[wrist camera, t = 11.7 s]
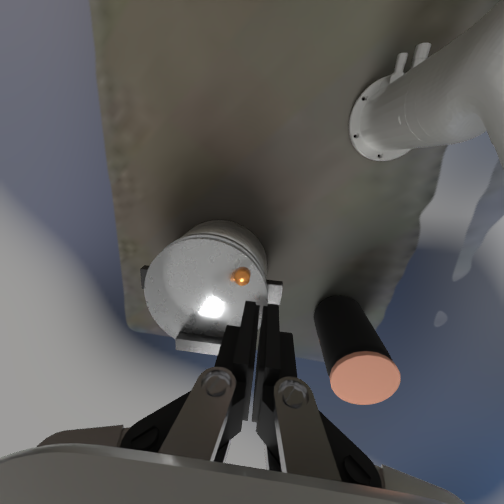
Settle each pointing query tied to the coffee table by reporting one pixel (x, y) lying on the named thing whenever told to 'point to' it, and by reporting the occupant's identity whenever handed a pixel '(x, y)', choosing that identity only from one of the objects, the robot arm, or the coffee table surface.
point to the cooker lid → (202, 291)
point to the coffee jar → (354, 353)
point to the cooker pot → (240, 239)
